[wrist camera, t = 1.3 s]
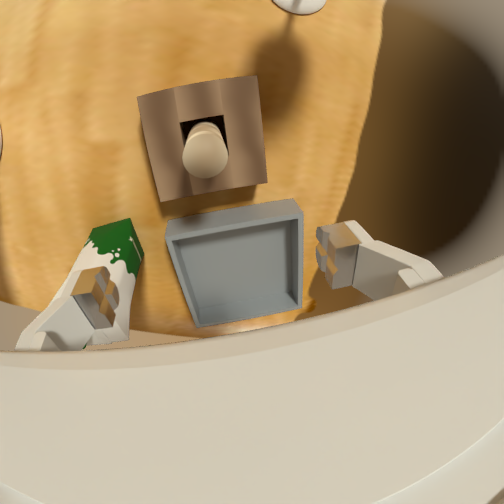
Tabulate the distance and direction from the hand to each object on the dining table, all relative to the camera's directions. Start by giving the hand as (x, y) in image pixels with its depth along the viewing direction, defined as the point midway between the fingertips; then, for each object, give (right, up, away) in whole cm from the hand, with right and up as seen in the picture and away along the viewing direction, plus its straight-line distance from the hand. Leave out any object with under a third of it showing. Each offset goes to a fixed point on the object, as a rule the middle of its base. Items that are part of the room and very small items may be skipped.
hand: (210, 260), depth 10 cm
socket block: (-5, +16, +24) cm, 30 cm away
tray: (-1, -1, +37) cm, 37 cm away
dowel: (-5, +16, +24) cm, 30 cm away
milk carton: (-20, +2, +31) cm, 37 cm away
